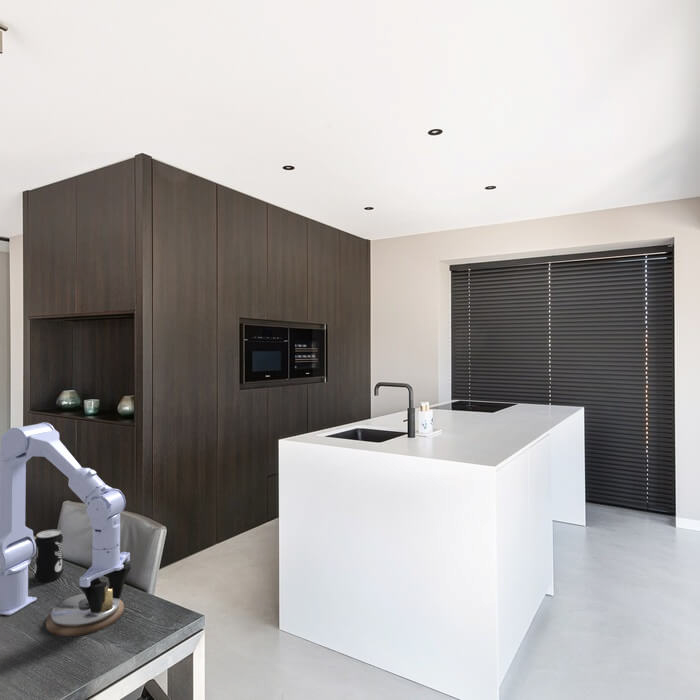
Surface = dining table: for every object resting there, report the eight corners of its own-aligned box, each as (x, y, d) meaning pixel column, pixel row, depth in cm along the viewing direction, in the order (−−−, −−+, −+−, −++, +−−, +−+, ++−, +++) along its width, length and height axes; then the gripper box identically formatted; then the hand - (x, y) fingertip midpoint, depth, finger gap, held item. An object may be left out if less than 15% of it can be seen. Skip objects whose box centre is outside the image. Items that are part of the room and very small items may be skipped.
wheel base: (28, 630, 114) (28, 612, 114) (85, 593, 131) (85, 577, 131) (91, 640, 110) (92, 621, 110) (142, 600, 127) (142, 584, 127)
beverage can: (49, 584, 136) (50, 538, 136) (28, 581, 137) (28, 536, 137) (68, 573, 142) (68, 529, 142) (47, 571, 143) (47, 528, 143)
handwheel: (36, 623, 114) (36, 597, 114) (81, 593, 128) (82, 570, 128) (91, 631, 111) (91, 604, 111) (132, 600, 125) (132, 576, 125)
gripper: (99, 559, 111) (99, 623, 111) (141, 535, 125) (140, 591, 125) (71, 556, 112) (70, 619, 112) (115, 532, 126) (115, 588, 126)
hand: (105, 604), depth 119 cm, fingers open, 6 cm apart
